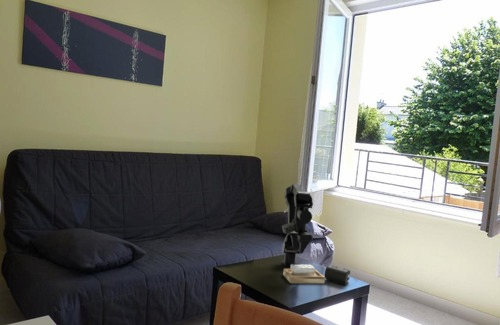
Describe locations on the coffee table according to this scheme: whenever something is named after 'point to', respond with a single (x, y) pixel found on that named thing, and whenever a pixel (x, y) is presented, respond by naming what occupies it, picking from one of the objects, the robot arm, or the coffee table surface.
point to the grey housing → (302, 270)
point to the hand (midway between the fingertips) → (297, 250)
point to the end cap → (337, 275)
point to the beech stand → (304, 277)
